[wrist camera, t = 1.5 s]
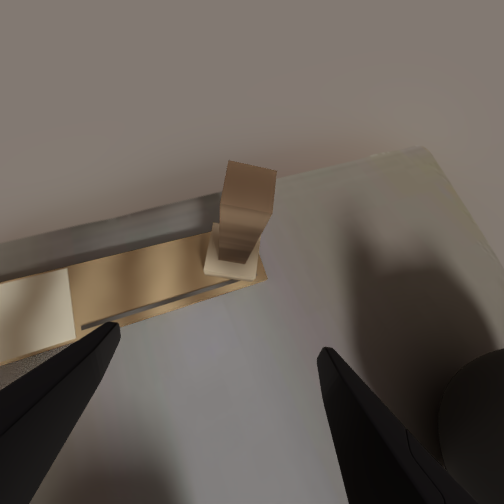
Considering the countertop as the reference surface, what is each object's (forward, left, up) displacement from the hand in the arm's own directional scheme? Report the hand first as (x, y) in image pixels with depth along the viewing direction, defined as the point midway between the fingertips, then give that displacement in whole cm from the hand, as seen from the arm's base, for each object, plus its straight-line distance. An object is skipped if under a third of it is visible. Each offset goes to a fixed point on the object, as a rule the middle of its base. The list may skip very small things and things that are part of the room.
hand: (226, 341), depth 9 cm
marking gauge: (+4, -6, -12) cm, 14 cm away
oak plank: (+9, +3, -13) cm, 16 cm away
